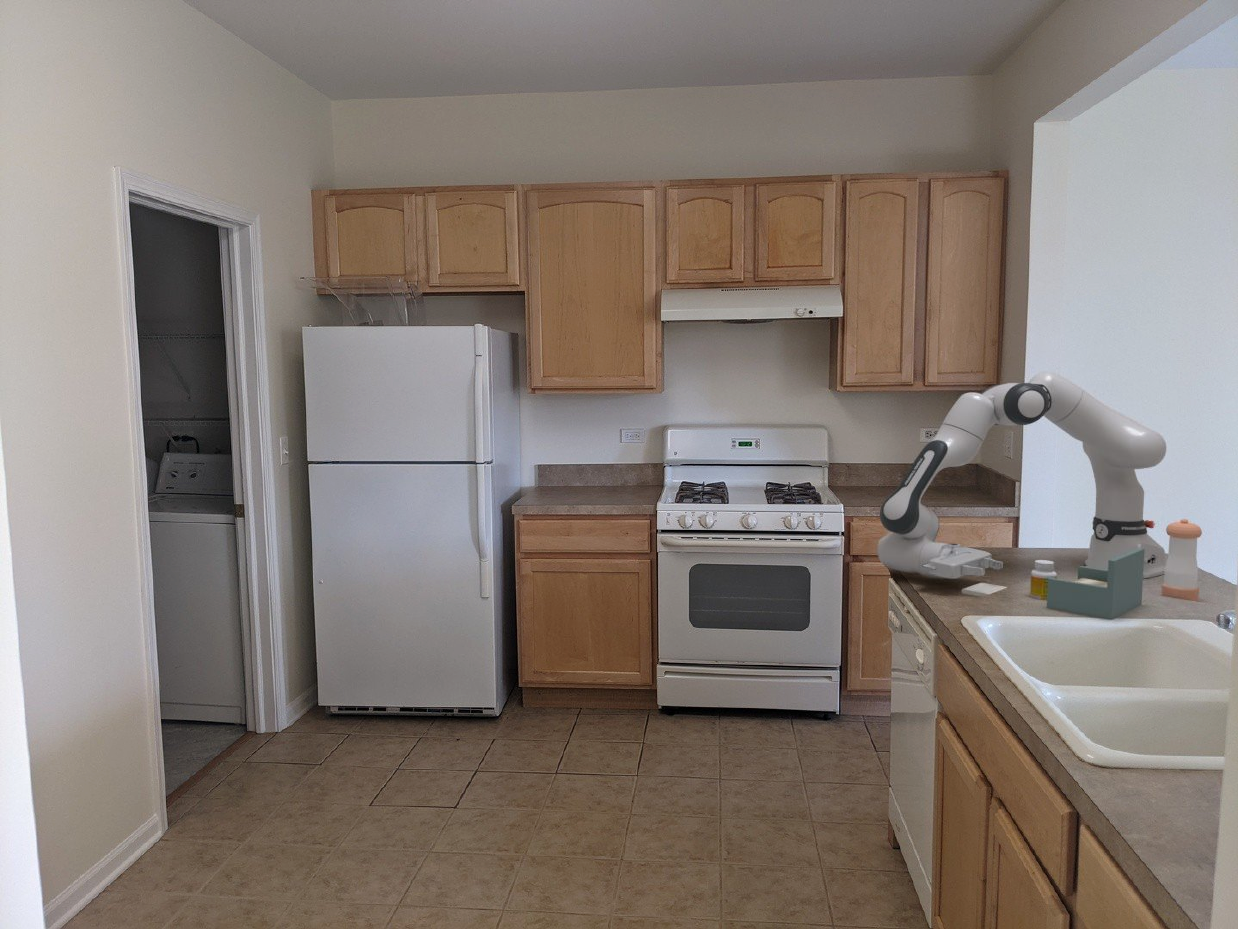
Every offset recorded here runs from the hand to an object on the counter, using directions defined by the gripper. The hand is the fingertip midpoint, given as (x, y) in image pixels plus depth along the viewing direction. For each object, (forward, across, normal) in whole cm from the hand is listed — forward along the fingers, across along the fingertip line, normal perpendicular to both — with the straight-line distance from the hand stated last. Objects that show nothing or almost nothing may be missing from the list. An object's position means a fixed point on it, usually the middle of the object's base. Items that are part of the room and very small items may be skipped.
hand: (992, 569), depth 213 cm
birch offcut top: (+22, 0, +2) cm, 22 cm away
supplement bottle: (+12, 0, +6) cm, 13 cm away
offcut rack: (+22, 0, +6) cm, 23 cm away
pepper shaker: (+33, +25, +6) cm, 42 cm away
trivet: (0, 0, +6) cm, 6 cm away
